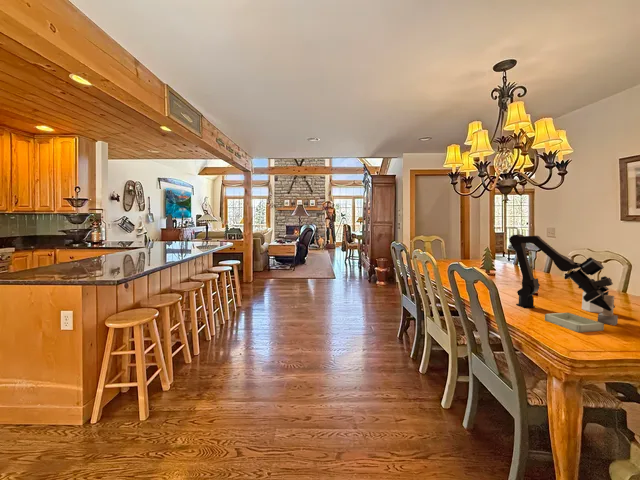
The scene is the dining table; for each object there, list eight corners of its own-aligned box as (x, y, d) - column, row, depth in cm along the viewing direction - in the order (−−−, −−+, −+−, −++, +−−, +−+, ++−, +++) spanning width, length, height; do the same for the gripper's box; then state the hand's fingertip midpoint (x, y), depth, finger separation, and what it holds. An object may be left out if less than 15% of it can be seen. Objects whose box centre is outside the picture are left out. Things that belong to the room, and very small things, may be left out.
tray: (544, 320, 148) (545, 314, 148) (567, 318, 151) (568, 312, 151) (578, 332, 133) (578, 325, 133) (603, 330, 135) (604, 323, 135)
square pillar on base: (597, 322, 146) (599, 295, 145) (600, 320, 149) (601, 293, 148) (615, 325, 141) (616, 298, 141) (617, 323, 145) (619, 296, 144)
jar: (599, 313, 159) (601, 290, 158) (579, 309, 165) (581, 287, 164) (605, 311, 163) (607, 288, 163) (586, 307, 170) (587, 285, 169)
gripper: (594, 273, 141) (626, 302, 133) (604, 269, 153) (634, 296, 145) (571, 287, 148) (600, 316, 140) (582, 282, 159) (610, 309, 151)
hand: (612, 309), depth 144 cm, fingers open, 7 cm apart
